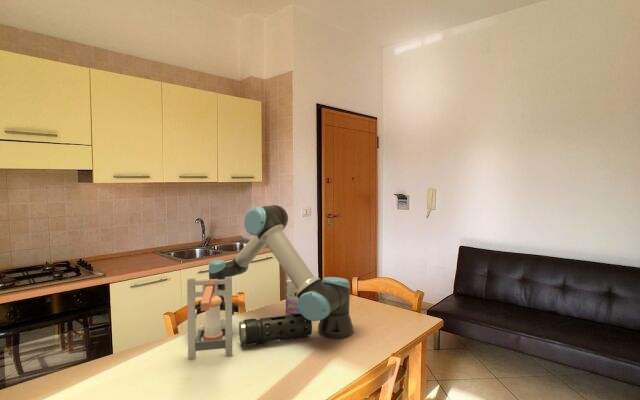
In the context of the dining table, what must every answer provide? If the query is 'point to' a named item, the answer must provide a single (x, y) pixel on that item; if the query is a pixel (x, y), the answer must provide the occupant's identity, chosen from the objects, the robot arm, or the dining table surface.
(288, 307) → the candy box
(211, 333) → the pepper shaker
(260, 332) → the muzzle brake
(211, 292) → the bar
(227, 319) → the frame
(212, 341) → the grey shallow square frame
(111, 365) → the dining table surface
